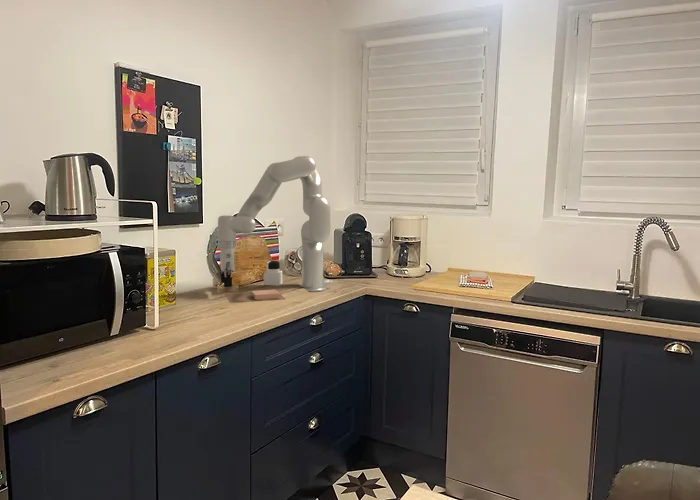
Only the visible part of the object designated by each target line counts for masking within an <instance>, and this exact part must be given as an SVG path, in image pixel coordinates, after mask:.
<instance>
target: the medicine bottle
mask: <svg viewBox="0 0 700 500" xmlns="http://www.w3.org/2000/svg"><path fill="white" fill-rule="evenodd" d="M280 268H281V263H280V261H278V260H269V261H267V262H266V268H265V269H266V271H264V273H263V286H277V287H279V286H280V285H282V284H283V270H280Z"/></svg>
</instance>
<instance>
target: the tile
mask: <svg viewBox="0 0 700 500" xmlns="http://www.w3.org/2000/svg"><path fill="white" fill-rule="evenodd" d="M251 293H252V297H253V298H254V299H255V300H263V299H278V298H280V294H281V293H280V292H279V291H278V290H277V289H260V290H259V289H258V290H251Z"/></svg>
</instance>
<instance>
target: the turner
mask: <svg viewBox="0 0 700 500" xmlns="http://www.w3.org/2000/svg"><path fill="white" fill-rule="evenodd" d="M216 292H217V293H232V292H233V293H234V292H240V286H239V285H232V287H224V285H223V286H216Z"/></svg>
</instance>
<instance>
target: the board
mask: <svg viewBox="0 0 700 500" xmlns="http://www.w3.org/2000/svg"><path fill="white" fill-rule="evenodd" d="M224 295H225V296H226V298H227V300H228V302H229V303H230V304H235V303H236V304H238V303H251V302H252V303H253V302H265V301H267V302H268V301H282V300H286V298H285V297H284V296H283V295H281V293H280V298H278V299H263V300H255V299H254V298H253V297H252V292H245V293H243V292H241V293H225V294H224Z"/></svg>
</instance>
